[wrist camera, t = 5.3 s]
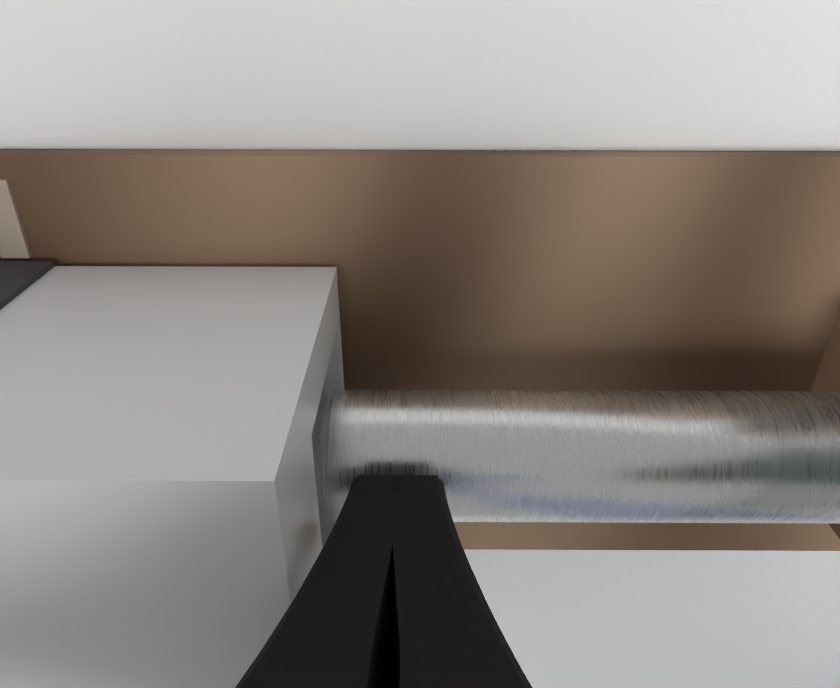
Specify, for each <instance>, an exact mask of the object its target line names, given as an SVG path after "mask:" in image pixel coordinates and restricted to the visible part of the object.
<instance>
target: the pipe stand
mask: <svg viewBox="0 0 840 688" xmlns="http://www.w3.org/2000/svg"><path fill="white" fill-rule="evenodd" d="M0 261H54V264H55V266H180V267H337V281H338V296H339V312H340V328H341V344H342V359H343V375H344V390H533V391H820V392H840V152H789V151H412V150H35V149H0ZM454 525H455V528H456V531H457V534H458V536H459V539H460V542H461V544H462V547H463V549H554V550H801V551H840V524H839V523H586V522H454Z"/></svg>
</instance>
